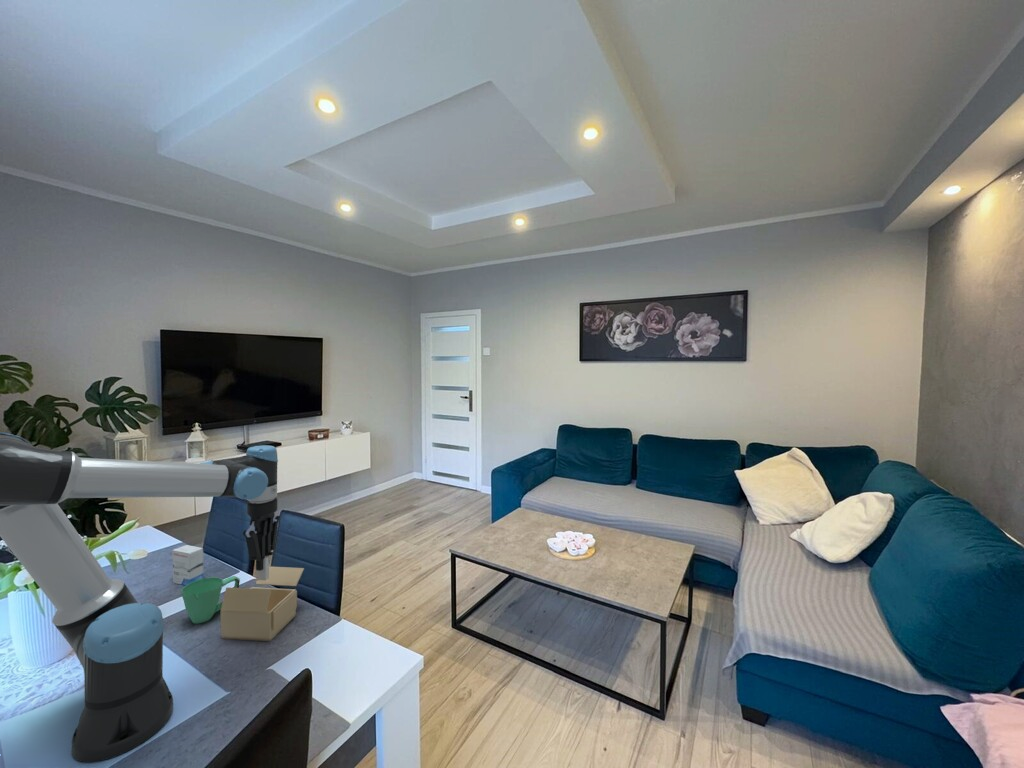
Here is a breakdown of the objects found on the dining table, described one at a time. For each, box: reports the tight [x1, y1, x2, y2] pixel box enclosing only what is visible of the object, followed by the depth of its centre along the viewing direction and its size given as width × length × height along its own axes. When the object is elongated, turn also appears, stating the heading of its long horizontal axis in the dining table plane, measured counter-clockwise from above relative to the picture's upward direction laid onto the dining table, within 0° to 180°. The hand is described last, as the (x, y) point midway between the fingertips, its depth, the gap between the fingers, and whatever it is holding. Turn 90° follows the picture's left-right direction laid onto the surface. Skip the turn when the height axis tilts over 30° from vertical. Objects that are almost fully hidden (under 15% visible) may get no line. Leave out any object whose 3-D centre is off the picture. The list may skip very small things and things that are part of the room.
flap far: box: [255, 565, 305, 587], centre depth 126 cm, size 1×13×6 cm
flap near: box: [220, 587, 271, 612], centre depth 111 cm, size 1×13×6 cm, turn 87°
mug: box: [181, 575, 241, 624], centre depth 122 cm, size 15×10×10 cm
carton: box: [220, 586, 298, 642], centre depth 117 cm, size 12×15×8 cm
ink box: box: [171, 544, 205, 587], centre depth 140 cm, size 9×5×12 cm, turn 73°
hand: (262, 578), depth 117 cm, fingers closed
